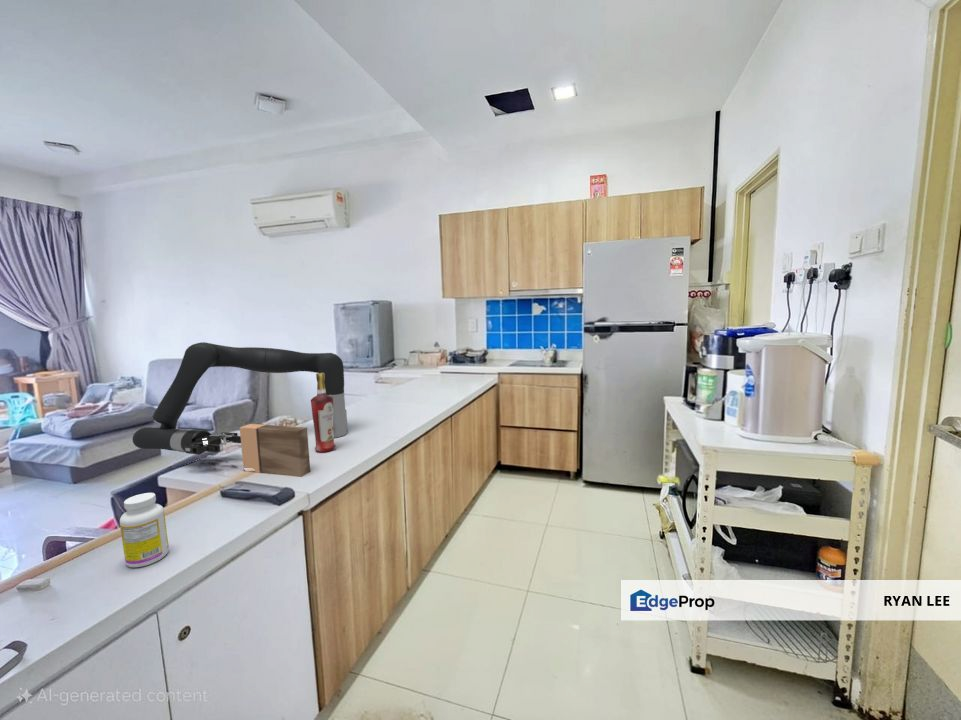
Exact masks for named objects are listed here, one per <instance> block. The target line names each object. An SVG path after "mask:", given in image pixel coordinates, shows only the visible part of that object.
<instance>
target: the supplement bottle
mask: <svg viewBox="0 0 961 720" xmlns="http://www.w3.org/2000/svg"><path fill="white" fill-rule="evenodd" d="M156 501H157V497H156V494H155V493H154V492H146V493H145V492H144V493H140V494H136V495H133V496H130V497H128V498H126V499H125V500H124V501H123V506H124V510H126V512H124V513H123V514H122V515H121V517H120V519H119V529H120V534H121V541H122V546H123V547H122V549H123V554H124V561H125V564H126V566H127V567H128V568H141V567H147V566H148V565H152V564H155V563H156V562H158V561H160V560H161V559H163V558H164V557H165V556H166V555H167V554H168V553H169V551H170V547H169V540H168V533H167V524H166V516H165V508H164V507H163V506H162V505H161V504H159V503H156Z"/></svg>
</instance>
